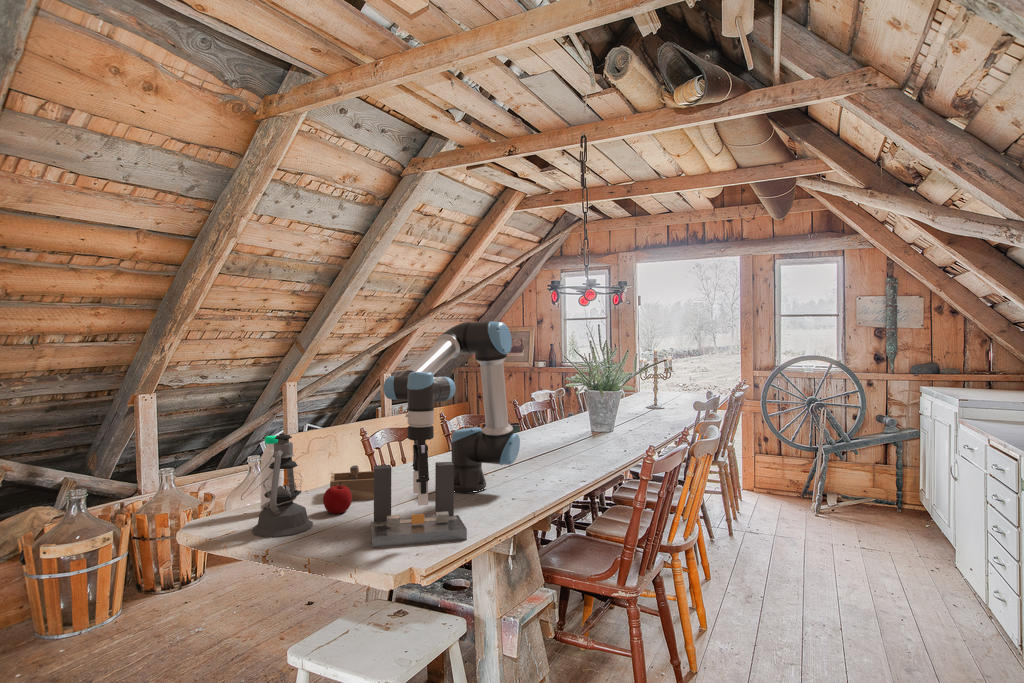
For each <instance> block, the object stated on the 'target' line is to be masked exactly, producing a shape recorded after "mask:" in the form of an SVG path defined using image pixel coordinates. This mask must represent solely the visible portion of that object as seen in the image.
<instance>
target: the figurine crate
mask: <svg viewBox="0 0 1024 683" xmlns="http://www.w3.org/2000/svg"><path fill="white" fill-rule="evenodd" d="M350 474H351V472H350V471H348V472H334V473H333V472H332V473H331V475H330V481H329V488H330V487H333V486H338V485H340V482H342V483H341V485H343V486H346V487H348V488H349V490H350V492H351V495H352V501H361V500H363V501H364V500H374V470H369V471H359V474H358V475H357V479H358V480H350V478H351V475H350Z"/></svg>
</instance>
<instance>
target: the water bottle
mask: <svg viewBox="0 0 1024 683" xmlns="http://www.w3.org/2000/svg"><path fill="white" fill-rule="evenodd" d="M276 436H277V435H274V434H273V435H267V436H265V437H264V445H265V447H266V448H265V449H264V450H263V453H262V454H261V456H260V463H261V465H260V471H261V470H262V469H263V468H264V467H265V466H266V465H267V464H268V463H269V462H270V463H269V464H268V465H267V466H266V467H265V468H264V469H263V470H262V471H261V473H260V484H261V483H262V482H263V481H264V480H265V479H266V478H267V477H268V476H269V475H270V474H271V473H272V472H273V471H274V469H270V468H269V466H270V464H271V463H272V462H274V461H275V458H273V457H272V455H273V454H274V444H275V443H277V442H278V439H275V437H276ZM271 457H272V459H271ZM270 459H271V461H270ZM280 470H285V469H280ZM284 472H285V471H280V473H279V482H278V487H279V486H284V479H285V476H284V475H285V473H284ZM271 475H272V476H271ZM271 475H270V476H271V477H270V476H269V477H268V480H266V481H265V483H264V482H263V483H264V485H265V488H266V489H265V488H264V486H263V483H262V484H261V485H260V490H261V491H260V506H262V505H264V504H265V503H267V502H269V501H270V498H266V497H265V496H264V494H265V493H266V492H267V491H271V488H270V487H272V479H273V473H272V474H271ZM269 478H272V479H269ZM266 490H267V491H266ZM260 506H259V508H260V510H259V511H260V512H261V511H262V510H263V508H262V507H260Z"/></svg>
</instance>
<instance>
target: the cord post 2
mask: <svg viewBox="0 0 1024 683" xmlns="http://www.w3.org/2000/svg"><path fill="white" fill-rule="evenodd" d="M434 471H435V472H434V473H435V475H434V476H435V477H434V478H435V479H434V480H435V486H434V488H435V494H434V495H435V500H434V501H435V505H434V509H435V510H434V511H435V512H434V513H435V516H434V517H436V512H447V511H448V513H449V516H454V513H455V509H454V507H455V506H454V505H455V503H454V502H455V501H454V499H455V496H454V495H455V494H454V493H455V492H454V464H453V463H452V461H441V462H440V461H439V462H435V470H434Z"/></svg>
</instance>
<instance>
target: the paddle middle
mask: <svg viewBox="0 0 1024 683" xmlns="http://www.w3.org/2000/svg"><path fill="white" fill-rule="evenodd" d="M410 516H411V517H410V519H411V524H421V523H424V518H425V513H418V514H411V515H410Z"/></svg>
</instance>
